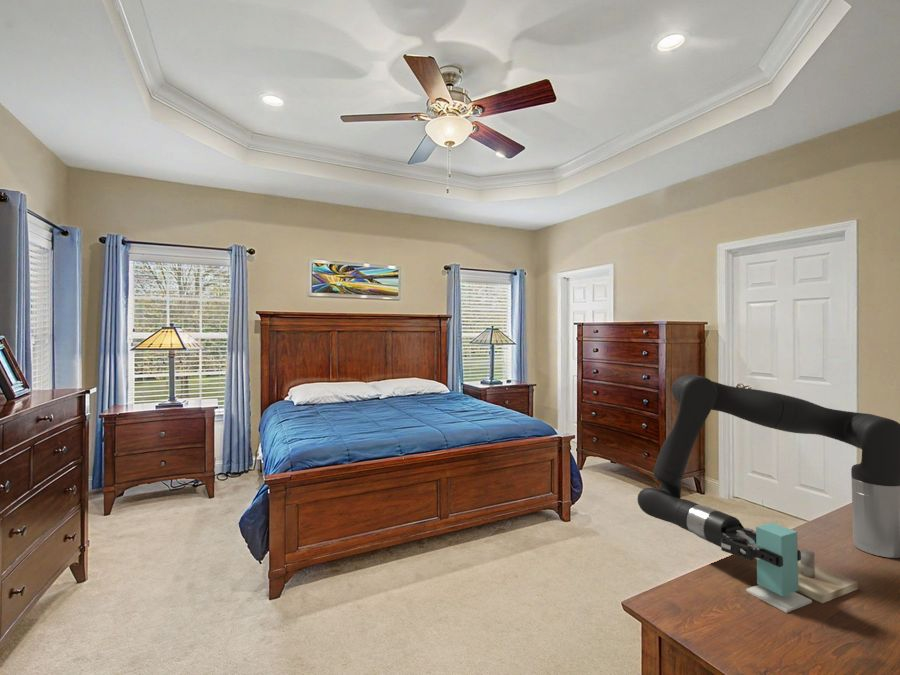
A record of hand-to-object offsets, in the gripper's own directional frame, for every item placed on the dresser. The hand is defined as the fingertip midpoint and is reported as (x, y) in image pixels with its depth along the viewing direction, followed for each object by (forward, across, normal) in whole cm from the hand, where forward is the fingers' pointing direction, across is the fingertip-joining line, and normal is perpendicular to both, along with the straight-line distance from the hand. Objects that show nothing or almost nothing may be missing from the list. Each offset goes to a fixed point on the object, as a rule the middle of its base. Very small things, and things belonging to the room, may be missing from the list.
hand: (790, 558), depth 90 cm
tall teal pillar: (-3, 0, +7) cm, 7 cm away
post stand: (-4, +12, +9) cm, 15 cm away
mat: (-3, 0, +9) cm, 9 cm away
